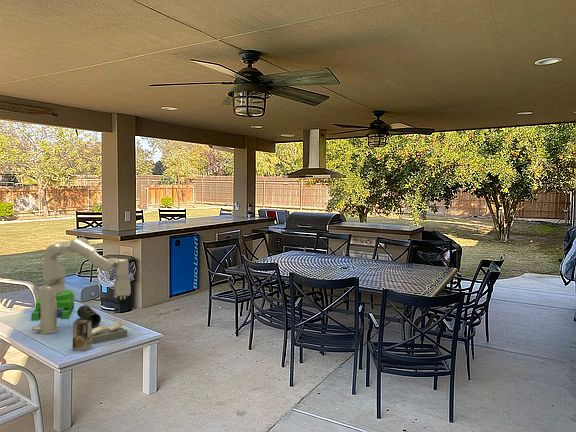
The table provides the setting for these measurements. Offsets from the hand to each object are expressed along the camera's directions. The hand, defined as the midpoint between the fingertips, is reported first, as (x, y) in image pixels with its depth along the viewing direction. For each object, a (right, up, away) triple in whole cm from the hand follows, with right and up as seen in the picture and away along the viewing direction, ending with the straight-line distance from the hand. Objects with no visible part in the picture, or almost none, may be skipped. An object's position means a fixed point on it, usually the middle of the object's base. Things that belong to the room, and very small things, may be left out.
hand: (121, 305), depth 285 cm
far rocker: (-3, -13, -2) cm, 14 cm away
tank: (-66, -16, +38) cm, 78 cm away
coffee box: (-14, -20, -26) cm, 36 cm away
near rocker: (-11, -13, -11) cm, 21 cm away
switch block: (-7, -20, -6) cm, 22 cm away
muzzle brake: (-33, -18, +24) cm, 44 cm away
